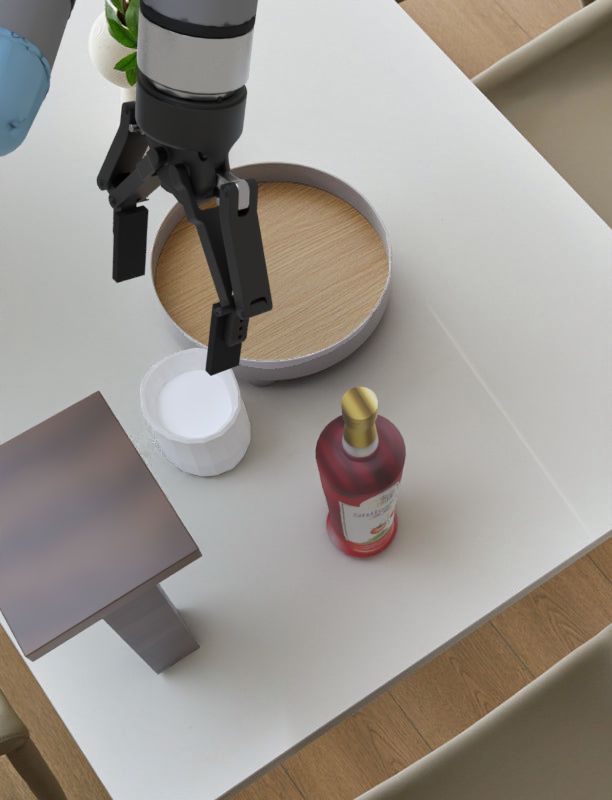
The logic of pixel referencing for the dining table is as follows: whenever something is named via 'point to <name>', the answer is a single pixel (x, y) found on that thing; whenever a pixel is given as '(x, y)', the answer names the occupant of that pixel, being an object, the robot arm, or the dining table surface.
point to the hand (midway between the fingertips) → (173, 321)
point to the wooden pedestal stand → (88, 538)
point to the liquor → (361, 475)
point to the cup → (195, 413)
